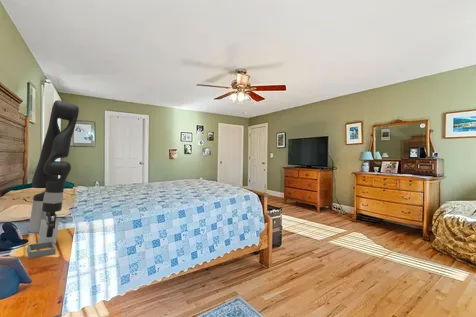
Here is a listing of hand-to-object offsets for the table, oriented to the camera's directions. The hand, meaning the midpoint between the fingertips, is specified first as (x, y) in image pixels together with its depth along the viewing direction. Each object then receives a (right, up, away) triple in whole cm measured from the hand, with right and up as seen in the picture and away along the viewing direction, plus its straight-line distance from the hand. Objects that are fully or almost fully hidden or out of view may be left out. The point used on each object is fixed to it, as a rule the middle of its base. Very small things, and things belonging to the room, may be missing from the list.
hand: (48, 234), depth 111 cm
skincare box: (0, -5, 0) cm, 5 cm away
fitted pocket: (+5, -4, -10) cm, 12 cm away
